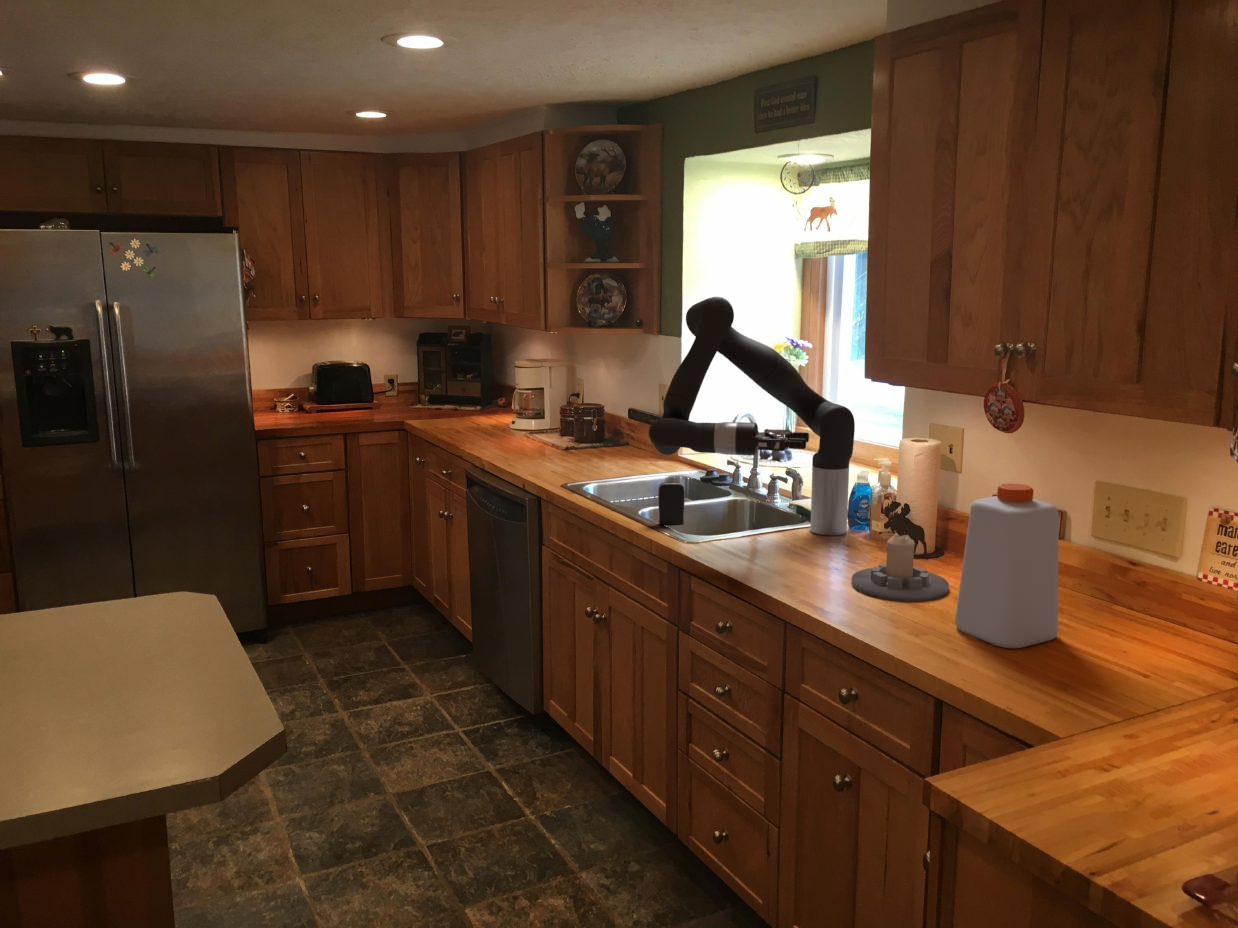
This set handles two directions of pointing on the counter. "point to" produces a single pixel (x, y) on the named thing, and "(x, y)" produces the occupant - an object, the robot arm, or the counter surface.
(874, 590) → the candle dish
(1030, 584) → the plastic bottle
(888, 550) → the candle
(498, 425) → the counter surface
